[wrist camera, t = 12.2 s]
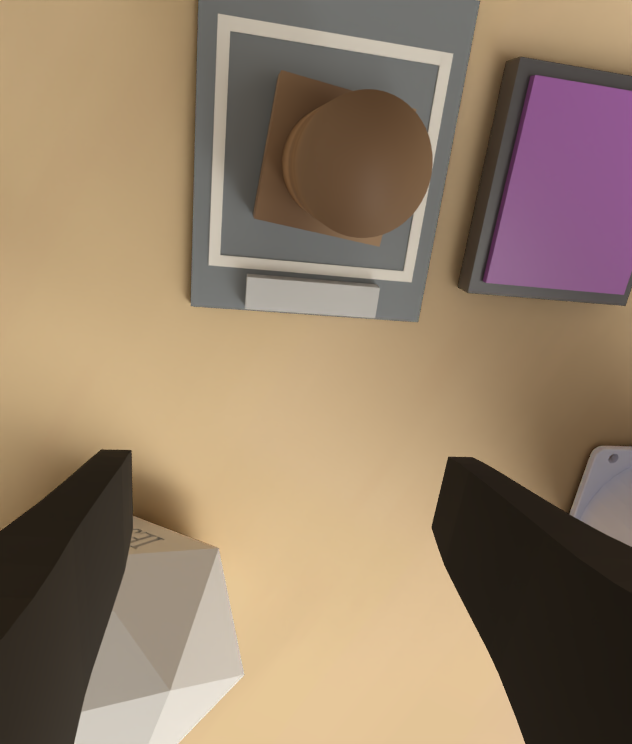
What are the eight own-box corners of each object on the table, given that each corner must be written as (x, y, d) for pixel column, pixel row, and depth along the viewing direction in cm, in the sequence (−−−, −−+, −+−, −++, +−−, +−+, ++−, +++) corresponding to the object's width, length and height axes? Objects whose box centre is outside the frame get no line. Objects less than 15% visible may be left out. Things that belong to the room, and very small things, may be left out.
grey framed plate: (476, 3, 17) (488, -5, 16) (415, 319, 21) (423, 326, 20) (200, -50, 16) (198, -61, 15) (191, 304, 20) (189, 310, 19)
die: (226, 458, 23) (11, 557, 14) (316, 645, 22) (146, 874, 14) (112, 517, 27) (-114, 625, 18) (185, 679, 26) (-14, 876, 17)
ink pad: (677, 91, 19) (706, 86, 18) (609, 299, 22) (630, 307, 21) (505, 61, 18) (525, 55, 17) (457, 287, 21) (470, 294, 20)
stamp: (401, 113, 18) (475, 93, 12) (368, 240, 19) (421, 272, 14) (277, 77, 17) (298, 39, 11) (252, 213, 18) (261, 237, 13)
